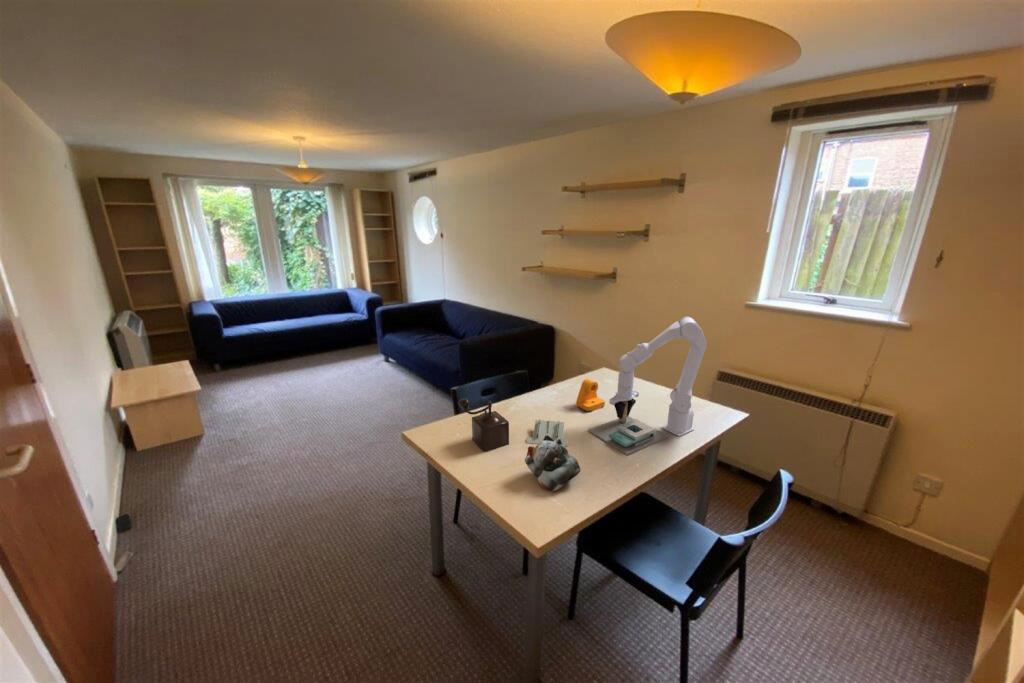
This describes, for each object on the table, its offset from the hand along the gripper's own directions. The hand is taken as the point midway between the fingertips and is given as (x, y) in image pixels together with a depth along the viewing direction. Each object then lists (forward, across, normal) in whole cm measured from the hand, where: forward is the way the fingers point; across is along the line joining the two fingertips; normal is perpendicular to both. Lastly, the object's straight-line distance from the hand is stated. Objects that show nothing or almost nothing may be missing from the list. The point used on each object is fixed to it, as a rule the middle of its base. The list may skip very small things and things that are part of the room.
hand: (622, 416), depth 159 cm
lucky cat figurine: (+3, +46, +13) cm, 48 cm away
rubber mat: (+3, +5, +7) cm, 9 cm away
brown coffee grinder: (+3, +54, -17) cm, 57 cm away
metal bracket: (+4, +31, -8) cm, 32 cm away
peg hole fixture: (+2, +7, +11) cm, 13 cm away
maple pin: (+2, 0, 0) cm, 2 cm away
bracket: (+3, 0, -18) cm, 18 cm away
